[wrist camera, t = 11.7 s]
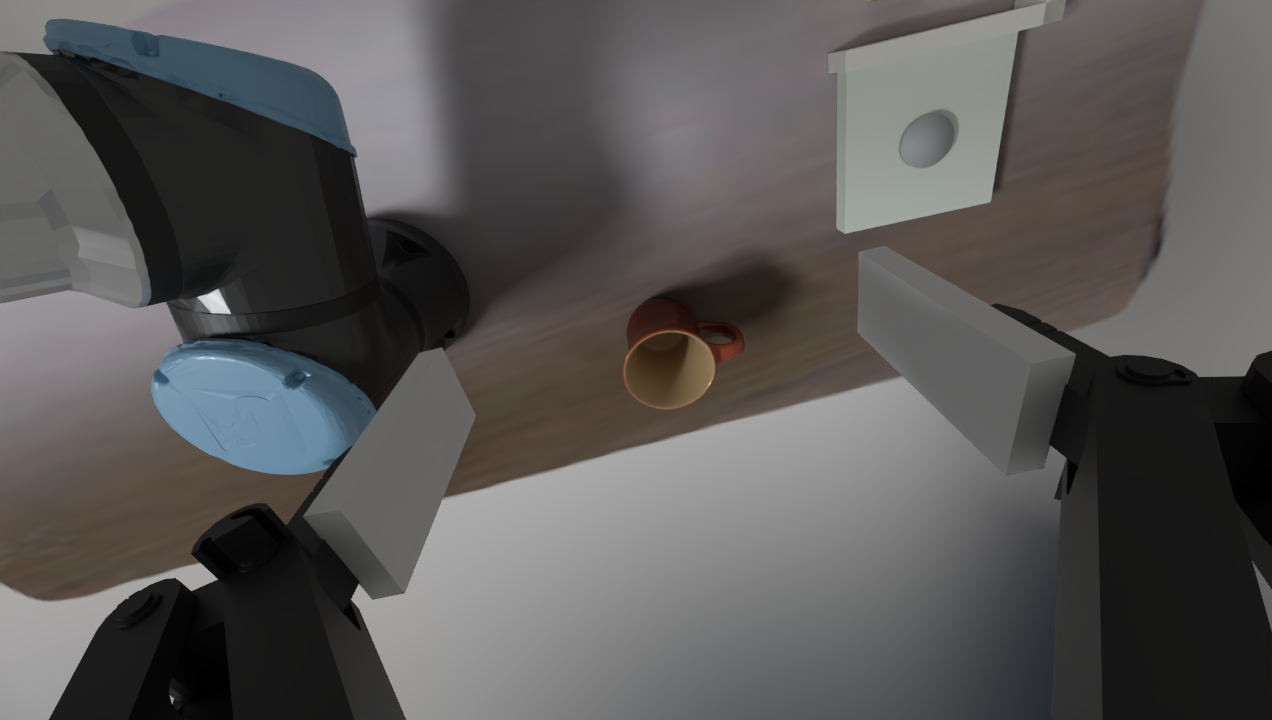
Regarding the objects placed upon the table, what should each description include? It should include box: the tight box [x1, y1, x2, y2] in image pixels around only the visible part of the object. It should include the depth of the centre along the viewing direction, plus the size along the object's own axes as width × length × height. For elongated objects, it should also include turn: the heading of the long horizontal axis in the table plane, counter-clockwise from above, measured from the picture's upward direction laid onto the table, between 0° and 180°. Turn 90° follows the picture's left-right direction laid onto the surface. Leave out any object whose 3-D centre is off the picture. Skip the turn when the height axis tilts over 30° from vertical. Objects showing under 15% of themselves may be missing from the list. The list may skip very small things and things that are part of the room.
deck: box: [828, 0, 1066, 234], centre depth 39 cm, size 17×29×4 cm, turn 12°
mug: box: [622, 298, 745, 410], centre depth 48 cm, size 12×9×10 cm
